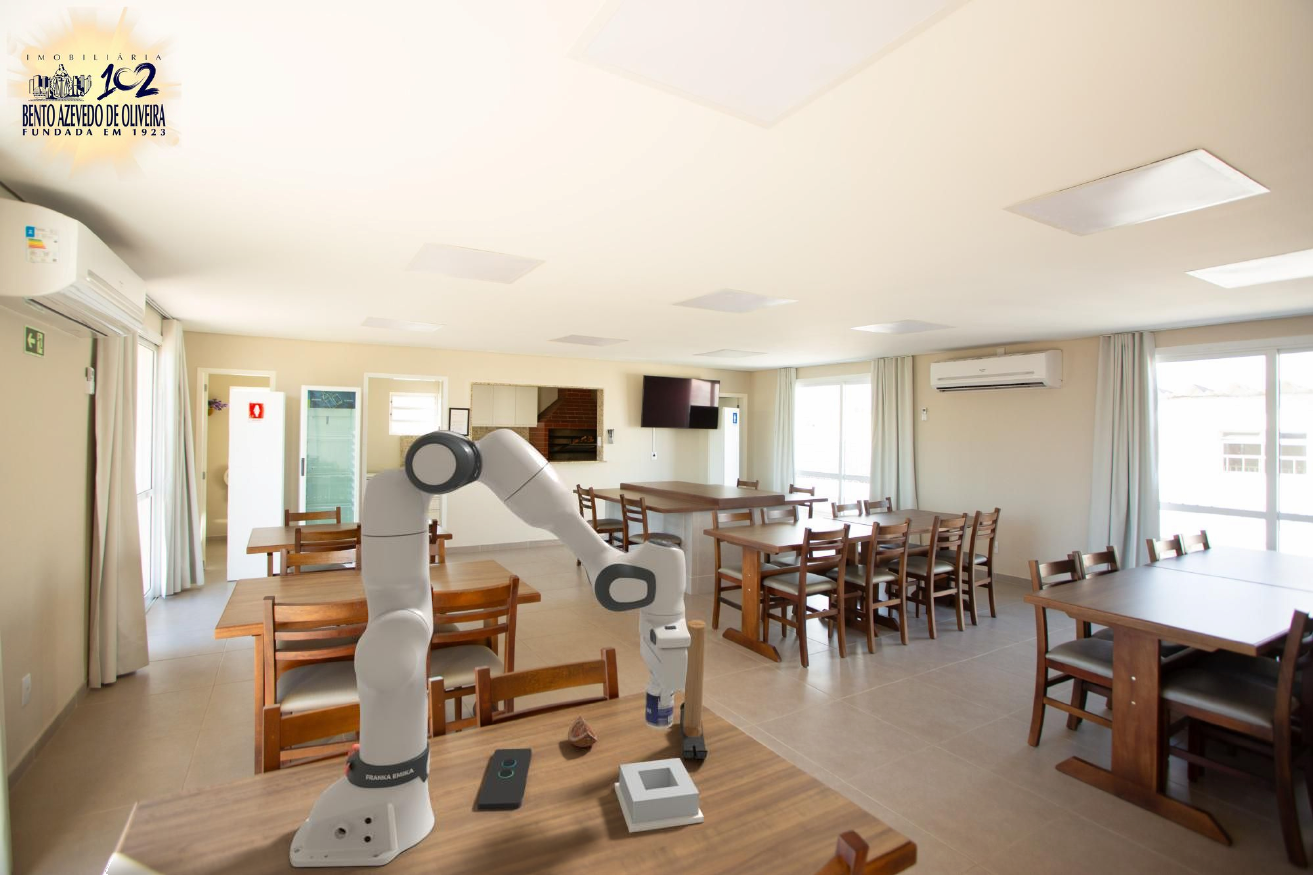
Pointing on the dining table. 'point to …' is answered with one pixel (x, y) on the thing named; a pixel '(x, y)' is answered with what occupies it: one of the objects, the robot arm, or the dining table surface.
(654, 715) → the pill bottle
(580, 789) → the dining table surface
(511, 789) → the smart home device
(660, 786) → the socket block
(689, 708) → the hammer
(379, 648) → the robot arm
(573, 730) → the fruit slice
